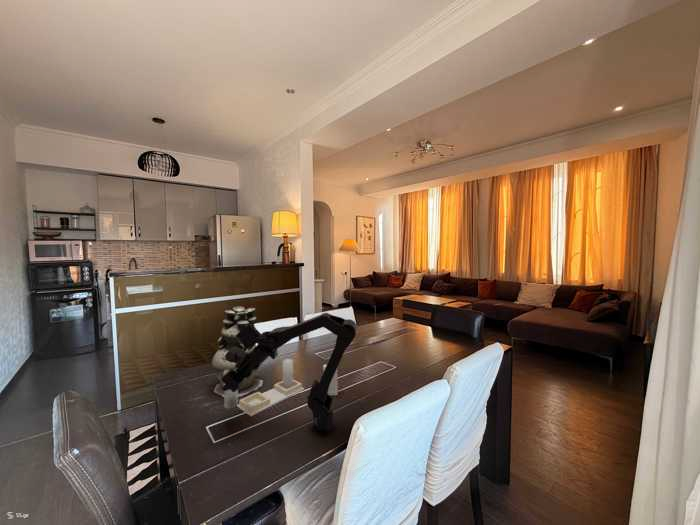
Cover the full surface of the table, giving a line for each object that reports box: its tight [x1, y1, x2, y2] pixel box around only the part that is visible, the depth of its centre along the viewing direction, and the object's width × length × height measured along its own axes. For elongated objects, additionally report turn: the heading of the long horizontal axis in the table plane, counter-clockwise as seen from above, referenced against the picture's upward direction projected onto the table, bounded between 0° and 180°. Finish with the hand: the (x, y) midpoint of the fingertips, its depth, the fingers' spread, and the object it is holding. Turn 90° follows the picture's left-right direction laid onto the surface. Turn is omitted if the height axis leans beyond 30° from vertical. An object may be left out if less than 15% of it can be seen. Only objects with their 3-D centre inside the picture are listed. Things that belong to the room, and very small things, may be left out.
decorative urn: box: [211, 306, 264, 398], centre depth 125 cm, size 21×21×35 cm
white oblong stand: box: [236, 358, 305, 417], centre depth 116 cm, size 10×25×13 cm, turn 140°
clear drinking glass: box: [223, 368, 239, 409], centre depth 99 cm, size 4×4×12 cm
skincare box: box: [322, 364, 339, 396], centre depth 120 cm, size 6×4×12 cm
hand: (227, 386), depth 99 cm, fingers closed on clear drinking glass, 4 cm apart
